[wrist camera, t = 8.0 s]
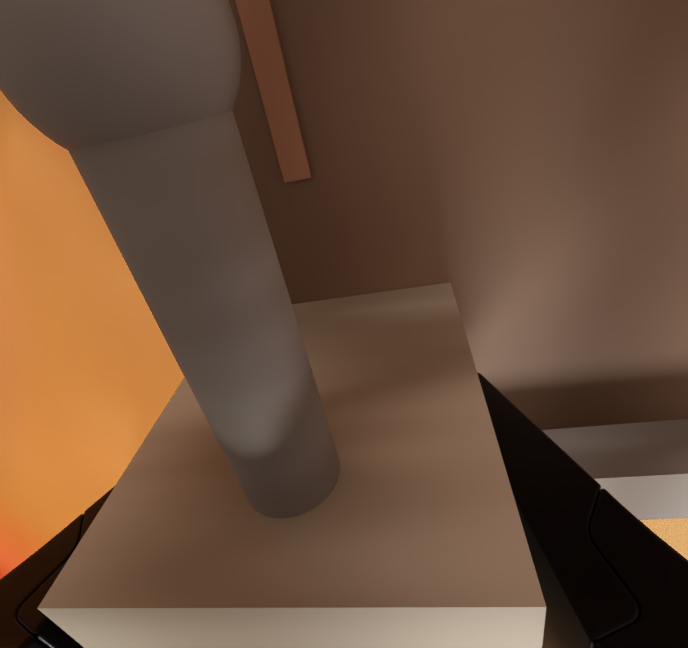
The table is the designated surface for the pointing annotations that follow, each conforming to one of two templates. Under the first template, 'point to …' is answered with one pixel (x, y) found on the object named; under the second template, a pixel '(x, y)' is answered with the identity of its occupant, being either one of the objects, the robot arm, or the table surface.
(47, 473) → the table surface
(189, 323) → the ball-top joystick
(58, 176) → the table surface
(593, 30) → the board
